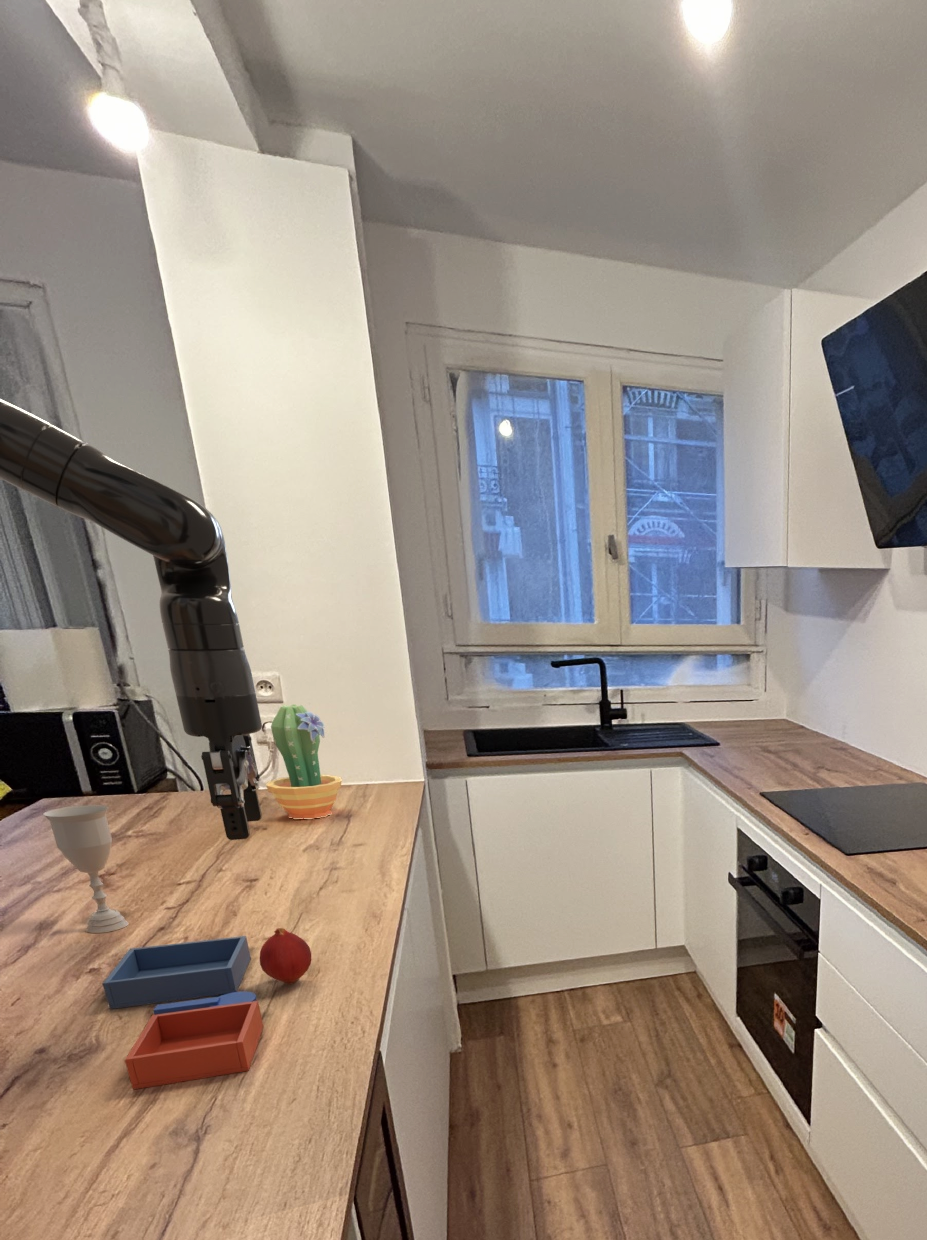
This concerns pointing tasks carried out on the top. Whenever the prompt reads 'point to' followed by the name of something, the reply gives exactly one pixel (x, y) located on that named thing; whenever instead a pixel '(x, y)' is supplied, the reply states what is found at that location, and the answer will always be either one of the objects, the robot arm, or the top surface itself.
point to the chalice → (87, 854)
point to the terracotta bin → (195, 1044)
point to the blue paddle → (206, 1002)
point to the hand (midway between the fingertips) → (245, 829)
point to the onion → (285, 956)
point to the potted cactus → (301, 765)
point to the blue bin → (177, 972)
